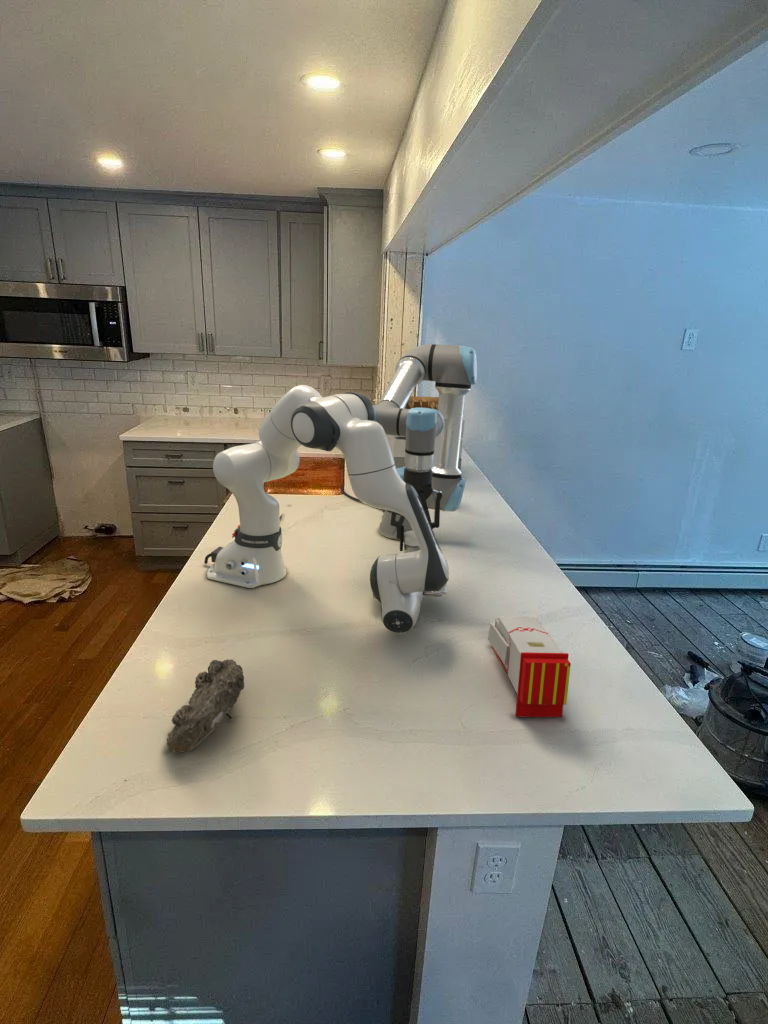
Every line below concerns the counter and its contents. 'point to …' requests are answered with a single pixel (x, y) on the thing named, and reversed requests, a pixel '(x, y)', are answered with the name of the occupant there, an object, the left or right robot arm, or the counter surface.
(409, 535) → the lid
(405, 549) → the jar
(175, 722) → the fossil
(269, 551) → the left robot arm
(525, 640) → the toy
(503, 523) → the counter surface
